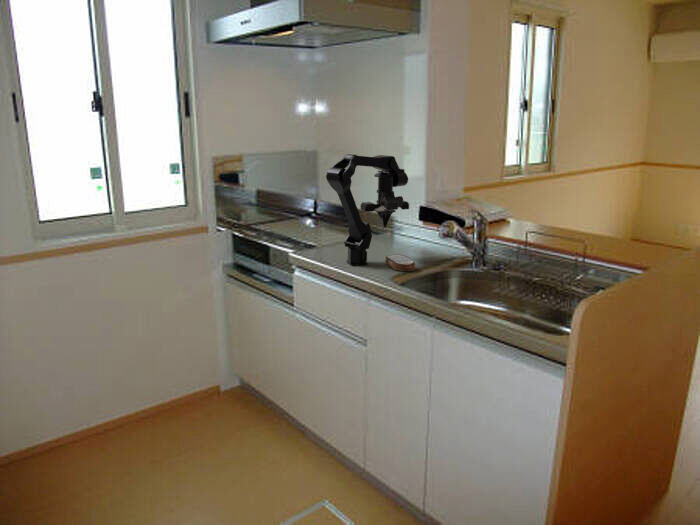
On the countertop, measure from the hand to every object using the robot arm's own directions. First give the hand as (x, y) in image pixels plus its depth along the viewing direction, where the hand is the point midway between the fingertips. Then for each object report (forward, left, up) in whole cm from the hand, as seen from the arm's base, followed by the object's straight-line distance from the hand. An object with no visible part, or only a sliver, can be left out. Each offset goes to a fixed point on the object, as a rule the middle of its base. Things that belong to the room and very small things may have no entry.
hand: (384, 227), depth 217 cm
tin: (+4, -16, -10) cm, 19 cm away
